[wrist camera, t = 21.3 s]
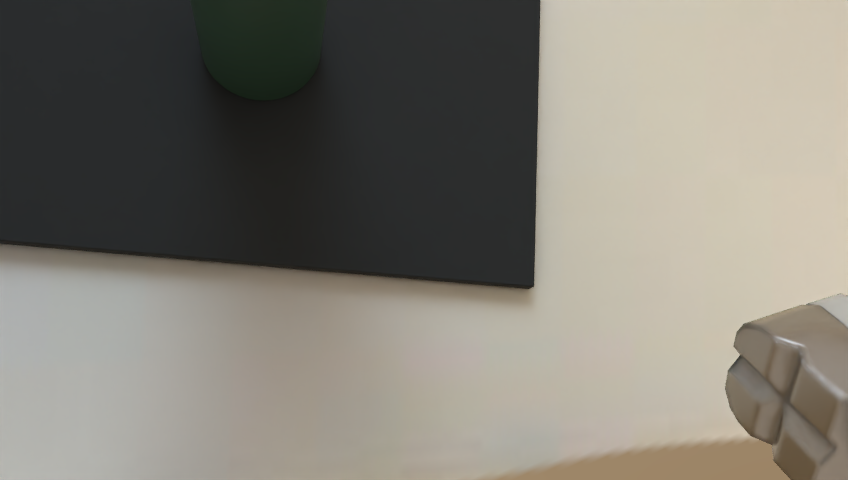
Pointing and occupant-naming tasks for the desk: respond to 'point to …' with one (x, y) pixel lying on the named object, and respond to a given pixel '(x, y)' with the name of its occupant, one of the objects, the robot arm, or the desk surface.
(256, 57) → the marker
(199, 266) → the desk surface
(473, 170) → the mat
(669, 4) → the desk surface
